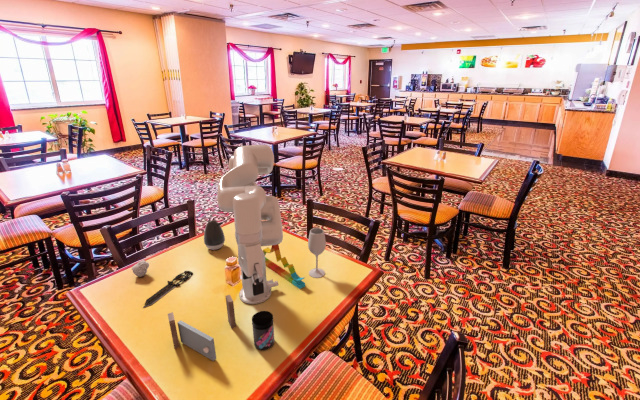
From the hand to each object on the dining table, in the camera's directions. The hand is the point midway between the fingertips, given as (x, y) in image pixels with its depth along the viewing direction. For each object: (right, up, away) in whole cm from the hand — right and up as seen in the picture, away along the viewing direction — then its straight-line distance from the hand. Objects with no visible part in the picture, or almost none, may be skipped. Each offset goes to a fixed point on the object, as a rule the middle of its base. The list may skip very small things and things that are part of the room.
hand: (253, 285), depth 99 cm
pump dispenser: (-33, +2, +66) cm, 74 cm away
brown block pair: (-19, -19, +11) cm, 29 cm away
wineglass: (+19, -7, +45) cm, 49 cm away
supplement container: (+2, -21, +7) cm, 22 cm away
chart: (+3, -7, +45) cm, 46 cm away
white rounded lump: (-58, -7, +42) cm, 72 cm away
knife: (-42, -11, +34) cm, 55 cm away
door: (-19, -22, +3) cm, 28 cm away
